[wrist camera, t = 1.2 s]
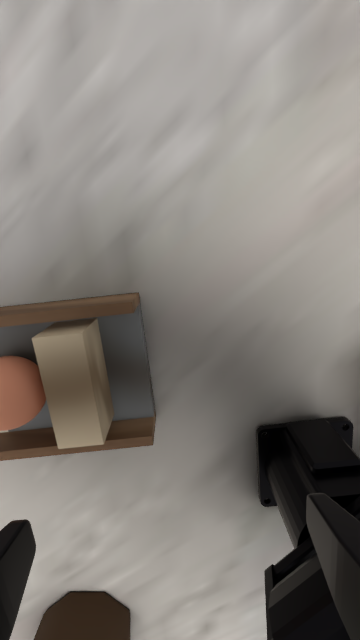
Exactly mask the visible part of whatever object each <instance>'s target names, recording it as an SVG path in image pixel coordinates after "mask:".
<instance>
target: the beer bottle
mask: <svg viewBox="0 0 360 640" xmlns="http://www.w3.org/2000/svg"><path fill="white" fill-rule="evenodd" d="M34 640H130V613H129V610H128V609H127V608H126V607H124V606H123V605H122V604H120V603H119V602H117V601H116V600H115V599H113V598H112V597H111V596H109V595H108V594H106V593H105V592H70V593H69V594H67V595H66V596H65V597H64V598H62V599H61V600H60V601H58V602H57V603H56V604H54V605H53V606H52V607H50V608H49V609H48V610H47V611H46V612H45V614H44V615H43V618H42V620H41V623H40V625H39V628H38V630H37V633H36V635H35V638H34Z"/></svg>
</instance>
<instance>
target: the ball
mask: <svg viewBox="0 0 360 640" xmlns="http://www.w3.org/2000/svg"><path fill="white" fill-rule="evenodd" d="M45 401H46V396H45V392H44V387H43V383H42V379H41V375H40V371H39V367H38V365H36V364H35V363H34V362H32V361H31V360H28V359H26V358H23V357H19V356H3V357H0V431H5V430H12V429H15V428H18V427H21V426H23V425H25V424H26V423H28V422H29V421H31V420H32V419H33V418H34V417H35V416H36V415H37V414H38V413H39V412H40V411H41V409H42V408H43V406H44V404H45Z"/></svg>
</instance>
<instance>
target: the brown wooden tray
mask: <svg viewBox="0 0 360 640" xmlns="http://www.w3.org/2000/svg"><path fill="white" fill-rule="evenodd" d="M93 318H97V320H98V325H99V331H100V337H101V342H102V348H103V353H104V359H105V364H106V370H107V376H108V381H109V387H110V392H111V398H112V404H113V409H114V416H113V419H112V422H111V425H110V428H109V431H108V434H107V437H106V439H105V442H104V444H103V445H94V446H84V447H74V448H64V449H58V446H57V442H56V437H55V433H54V429H53V425H52V421H51V417H50V412H49V408H48V404H47V400H46V401H45V404H44V406H43V408H42V409H41V411H40V412H39V413H38V414H37V415H36V416H35V417H34V418H33V419H32V420H31V421H29V422H28V423H26V424H25V425H23V426H21V427H18V428H15V429H12V430H5V431H0V461H3V460H12V459H22V458H32V457H42V456H51V455H61V454H71V453H80V452H90V451H100V450H110V449H119V448H129V447H139V446H149V445H153V441H154V431H155V421H156V413H155V406H154V398H153V391H152V384H151V377H150V370H149V363H148V356H147V348H146V341H145V334H144V327H143V320H142V313H141V306H140V298H139V292H138V293H129V294H119V295H110V296H101V297H91V298H82V299H72V300H63V301H54V302H44V303H35V304H25V305H16V306H6V307H0V357H3V356H19V357H23V358H26V359H28V360H31V361H32V362H34V363H35V364H36V365H38V363H37V358H36V354H35V350H34V346H33V342H32V338H33V337H34V336H36V335H37V334H39V333H40V332H42V331H43V330H45V329H46V328H48V327H49V326H51V325H52V324H54V323H55V322H64V321H74V320H83V319H93Z"/></svg>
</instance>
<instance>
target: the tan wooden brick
mask: <svg viewBox="0 0 360 640" xmlns="http://www.w3.org/2000/svg"><path fill="white" fill-rule="evenodd" d="M32 342H33V346H34V350H35V354H36V358H37V363H38V367H39V371H40V375H41V379H42V383H43V387H44V392H45V396H46V400H47V404H48V408H49V412H50V417H51V421H52V425H53V429H54V433H55V437H56V442H57V446H58V449H64V448H74V447H84V446H94V445H103V444H104V442H105V439H106V437H107V434H108V431H109V428H110V425H111V422H112V419H113V416H114V409H113V404H112V398H111V392H110V387H109V381H108V376H107V370H106V364H105V359H104V353H103V348H102V342H101V337H100V331H99V325H98V320H97V318H93V319H83V320H74V321H64V322H55V323H54V324H52V325H51V326H49V327H48V328H46V329H45V330H43V331H42V332H40V333H39V334H37V335H36V336H34V337H33V338H32Z"/></svg>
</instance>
